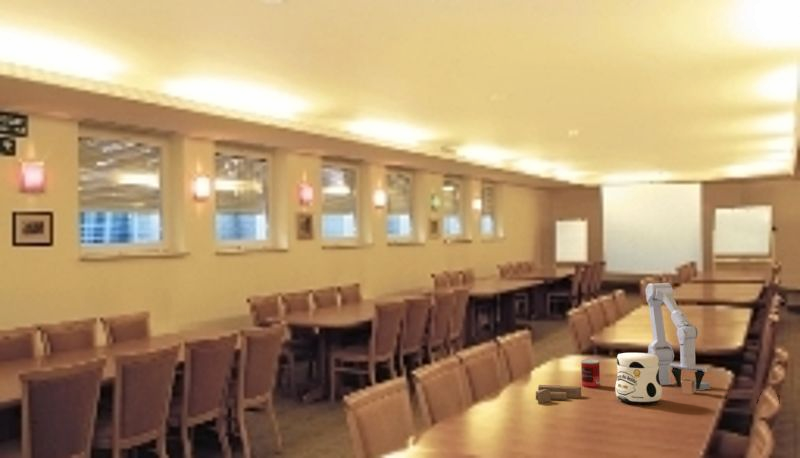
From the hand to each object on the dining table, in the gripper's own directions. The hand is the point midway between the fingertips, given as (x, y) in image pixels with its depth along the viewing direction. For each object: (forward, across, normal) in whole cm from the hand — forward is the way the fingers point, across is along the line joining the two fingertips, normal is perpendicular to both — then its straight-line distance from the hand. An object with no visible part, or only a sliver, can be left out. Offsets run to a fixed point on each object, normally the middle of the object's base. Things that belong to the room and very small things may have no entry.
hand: (688, 387), depth 291 cm
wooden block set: (+3, -35, -44) cm, 57 cm away
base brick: (+2, 0, +11) cm, 11 cm away
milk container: (+2, -10, -28) cm, 29 cm away
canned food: (+2, -38, -12) cm, 40 cm away
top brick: (+2, 0, 0) cm, 2 cm away
